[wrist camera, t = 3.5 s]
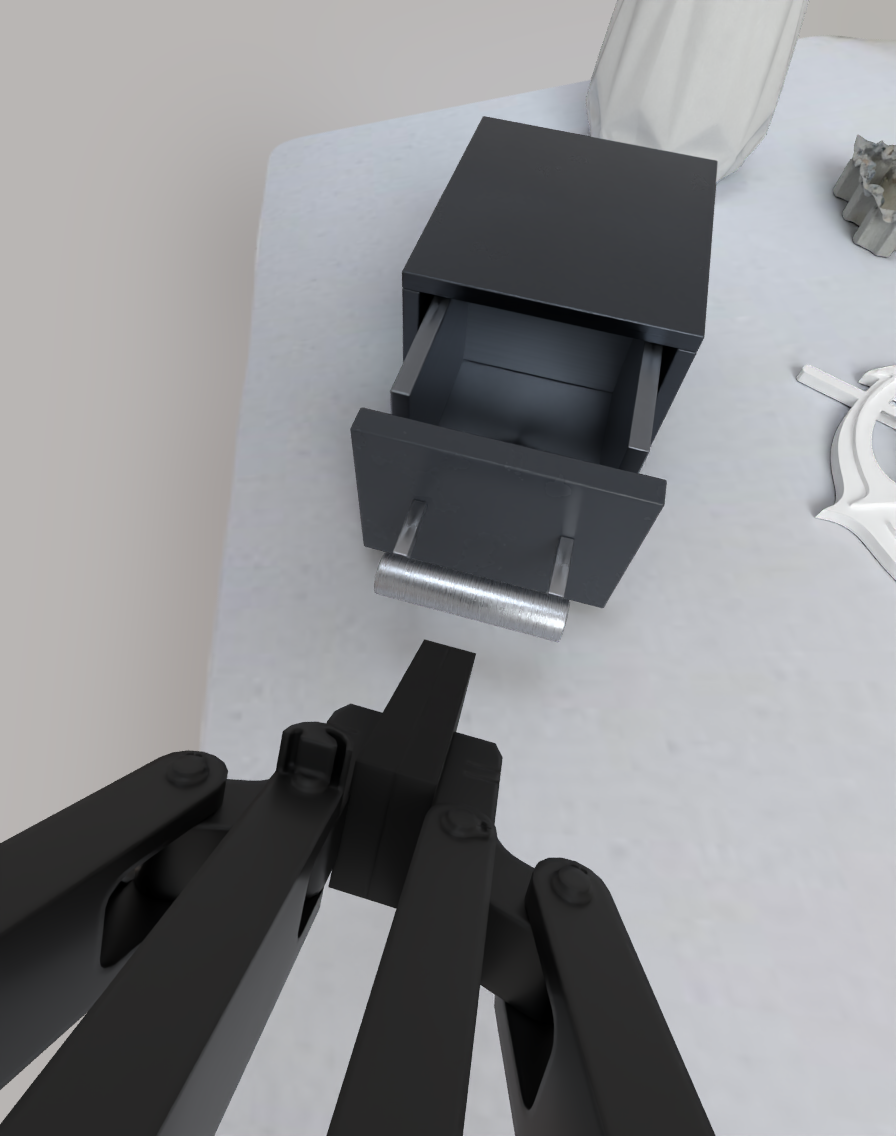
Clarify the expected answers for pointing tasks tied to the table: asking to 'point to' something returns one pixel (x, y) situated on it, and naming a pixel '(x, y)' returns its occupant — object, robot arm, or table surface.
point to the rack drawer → (509, 467)
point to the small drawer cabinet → (574, 240)
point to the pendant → (861, 460)
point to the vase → (693, 75)
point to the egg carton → (871, 195)
